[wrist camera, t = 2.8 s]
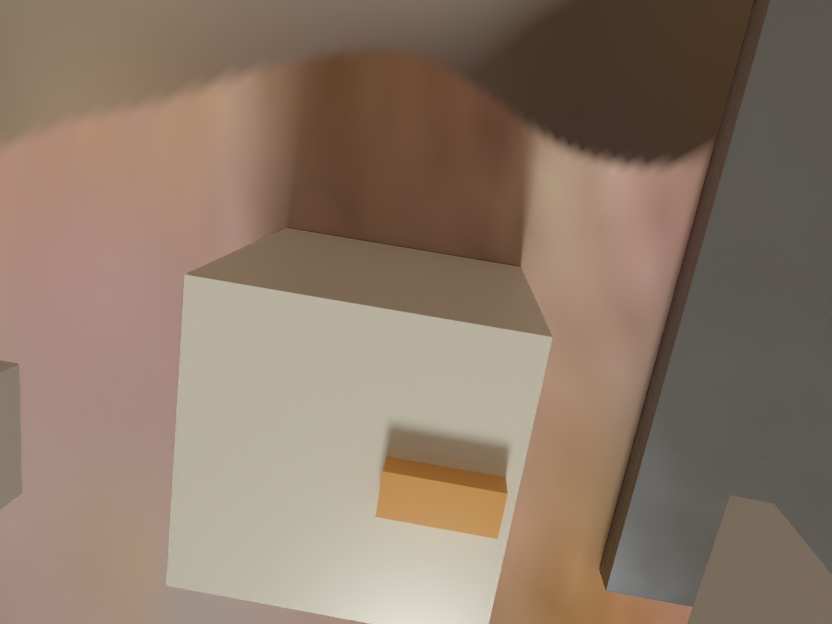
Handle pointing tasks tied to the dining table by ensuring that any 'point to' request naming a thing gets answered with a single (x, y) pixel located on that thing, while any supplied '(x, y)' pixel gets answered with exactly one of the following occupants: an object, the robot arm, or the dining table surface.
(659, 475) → the panel
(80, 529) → the dining table surface
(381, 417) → the white box
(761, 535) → the robot arm
